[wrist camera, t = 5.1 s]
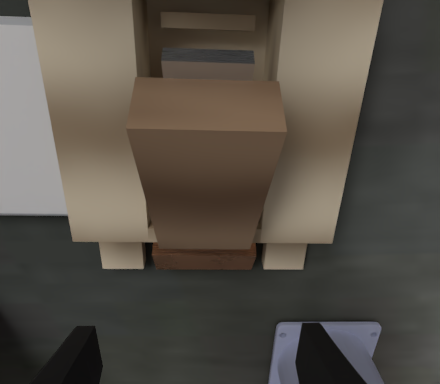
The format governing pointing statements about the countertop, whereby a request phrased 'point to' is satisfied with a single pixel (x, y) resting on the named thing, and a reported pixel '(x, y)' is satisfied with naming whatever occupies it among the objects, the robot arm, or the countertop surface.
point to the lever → (212, 70)
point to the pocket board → (151, 67)
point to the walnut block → (205, 157)
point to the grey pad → (25, 128)
